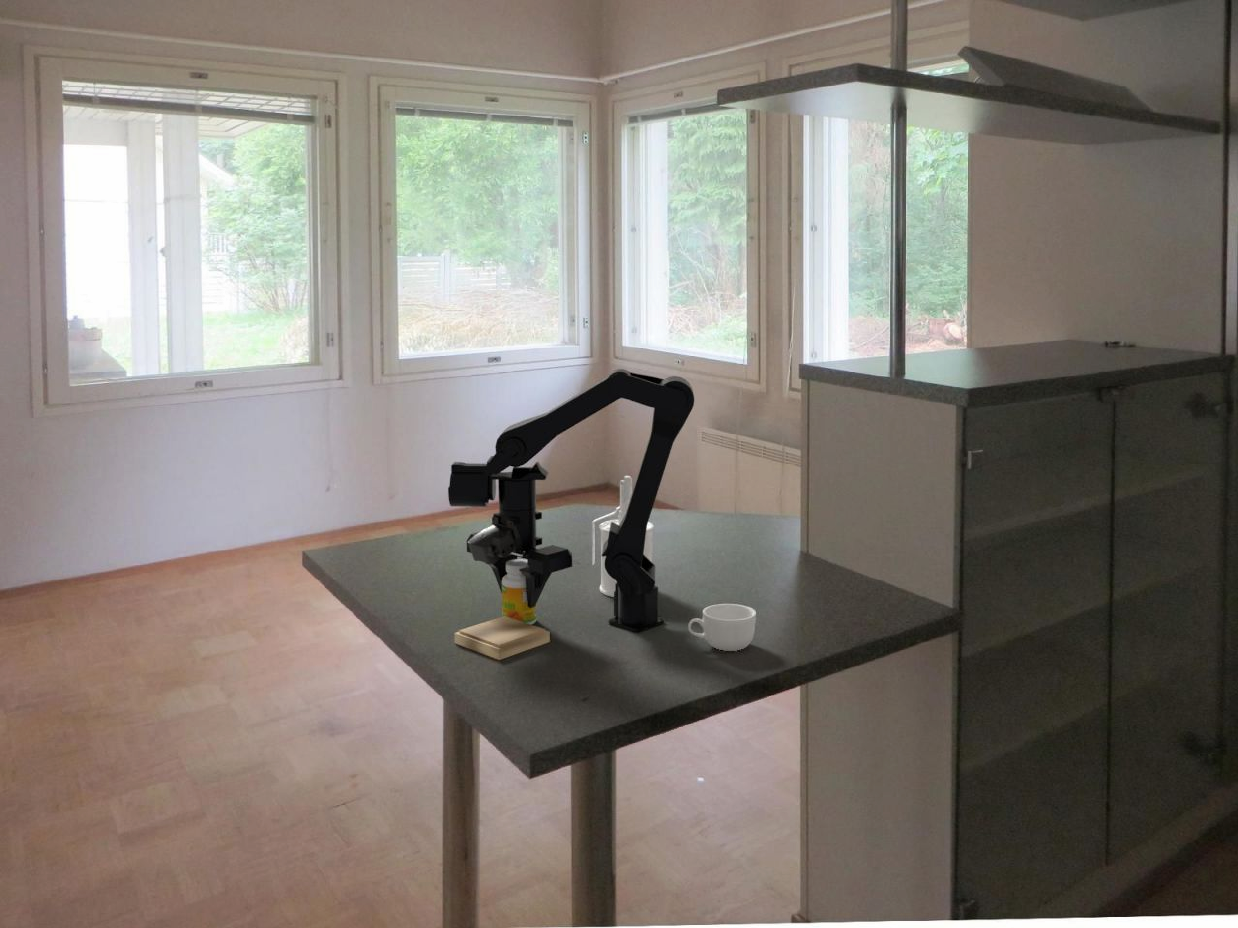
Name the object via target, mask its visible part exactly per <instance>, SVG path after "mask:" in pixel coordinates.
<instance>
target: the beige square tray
mask: <svg viewBox="0 0 1238 928" xmlns="http://www.w3.org/2000/svg"><path fill="white" fill-rule="evenodd" d="M550 634H551V632H550V631H548V630H546V629H545V628H542V627H540V626H536V625H533V624H532V625H531V624H528V623H525V622H522V621H519V620H516V619H513V618H510V617H507V616H502V615H501V616H500V617H497V618H494V619H490V620H488V621H484V622H482V623H478V624H475V625H472V626H469V627H466V628H465V627H464V628H462V629H459V630H458V631H457V632H454V644H456V645H458V646H461V647H464V648H466V649H469V650H472V651H474V652H477V653H479V654H482V655H485V656H488V657H490V658H492V659H495V660H498V661H500V660H504V659H505V658H509V657H511V656H514V655H517V654H520V653H524V652H526V651H529V650H532V649H534V648H536V647H540V646H542V645H546V644H548V643H550V642H551V640H550V638H551V636H550Z"/></svg>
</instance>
